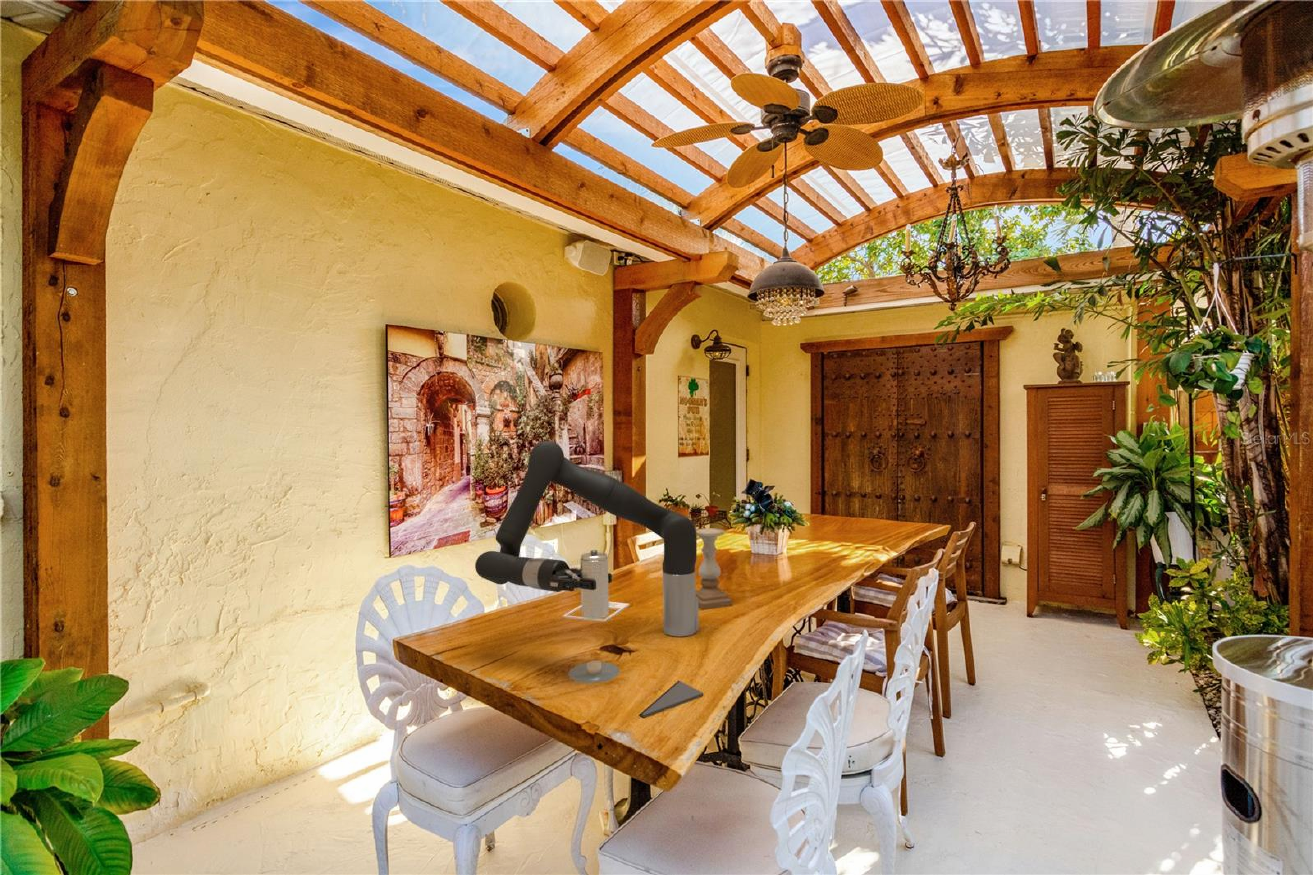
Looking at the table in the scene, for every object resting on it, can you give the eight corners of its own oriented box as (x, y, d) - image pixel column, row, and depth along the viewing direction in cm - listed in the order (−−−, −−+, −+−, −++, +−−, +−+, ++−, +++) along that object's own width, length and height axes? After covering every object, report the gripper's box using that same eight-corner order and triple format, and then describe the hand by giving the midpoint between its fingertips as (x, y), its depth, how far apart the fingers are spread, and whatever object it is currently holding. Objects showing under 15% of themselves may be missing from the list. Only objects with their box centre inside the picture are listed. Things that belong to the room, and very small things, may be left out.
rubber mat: (658, 672, 145) (658, 670, 145) (703, 695, 132) (703, 693, 132) (601, 691, 135) (601, 688, 135) (643, 718, 122) (643, 715, 122)
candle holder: (688, 600, 203) (686, 529, 203) (717, 596, 207) (716, 526, 207) (702, 609, 193) (700, 534, 193) (732, 605, 197) (731, 532, 197)
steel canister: (591, 609, 147) (590, 547, 146) (612, 612, 144) (611, 549, 144) (577, 616, 142) (575, 552, 141) (598, 620, 139) (597, 554, 138)
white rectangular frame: (629, 603, 200) (605, 619, 183) (629, 606, 200) (605, 623, 183) (589, 599, 205) (562, 615, 188) (589, 602, 205) (562, 618, 188)
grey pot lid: (602, 662, 152) (602, 650, 152) (629, 677, 142) (629, 664, 142) (559, 674, 145) (559, 662, 145) (584, 692, 135) (584, 678, 135)
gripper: (526, 565, 143) (585, 572, 135) (563, 553, 156) (619, 559, 148) (527, 597, 143) (586, 606, 135) (564, 582, 156) (620, 590, 148)
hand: (603, 581), depth 141 cm, fingers closed on steel canister, 6 cm apart
